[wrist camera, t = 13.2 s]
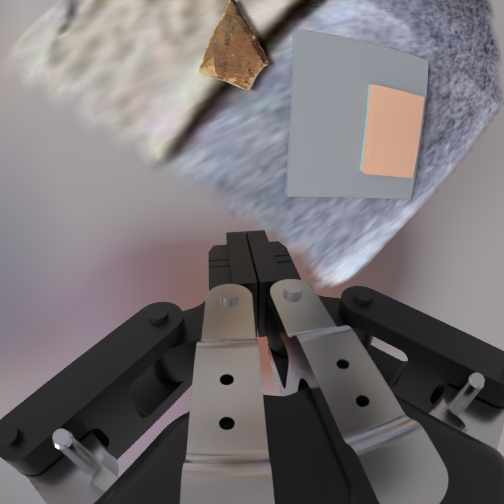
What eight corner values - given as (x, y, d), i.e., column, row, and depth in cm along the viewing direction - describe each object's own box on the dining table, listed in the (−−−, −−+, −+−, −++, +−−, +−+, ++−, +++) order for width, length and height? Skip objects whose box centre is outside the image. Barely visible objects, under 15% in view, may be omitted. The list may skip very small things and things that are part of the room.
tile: (376, 84, 30) (424, 97, 31) (368, 84, 32) (416, 95, 33) (366, 174, 36) (412, 178, 37) (359, 169, 38) (405, 174, 39)
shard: (231, 0, 26) (232, -4, 25) (288, 22, 29) (292, 19, 27) (196, 73, 31) (195, 72, 29) (254, 94, 33) (256, 94, 32)
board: (293, 30, 29) (295, 29, 28) (423, 60, 31) (428, 60, 30) (285, 193, 40) (287, 196, 39) (406, 196, 42) (410, 199, 41)
